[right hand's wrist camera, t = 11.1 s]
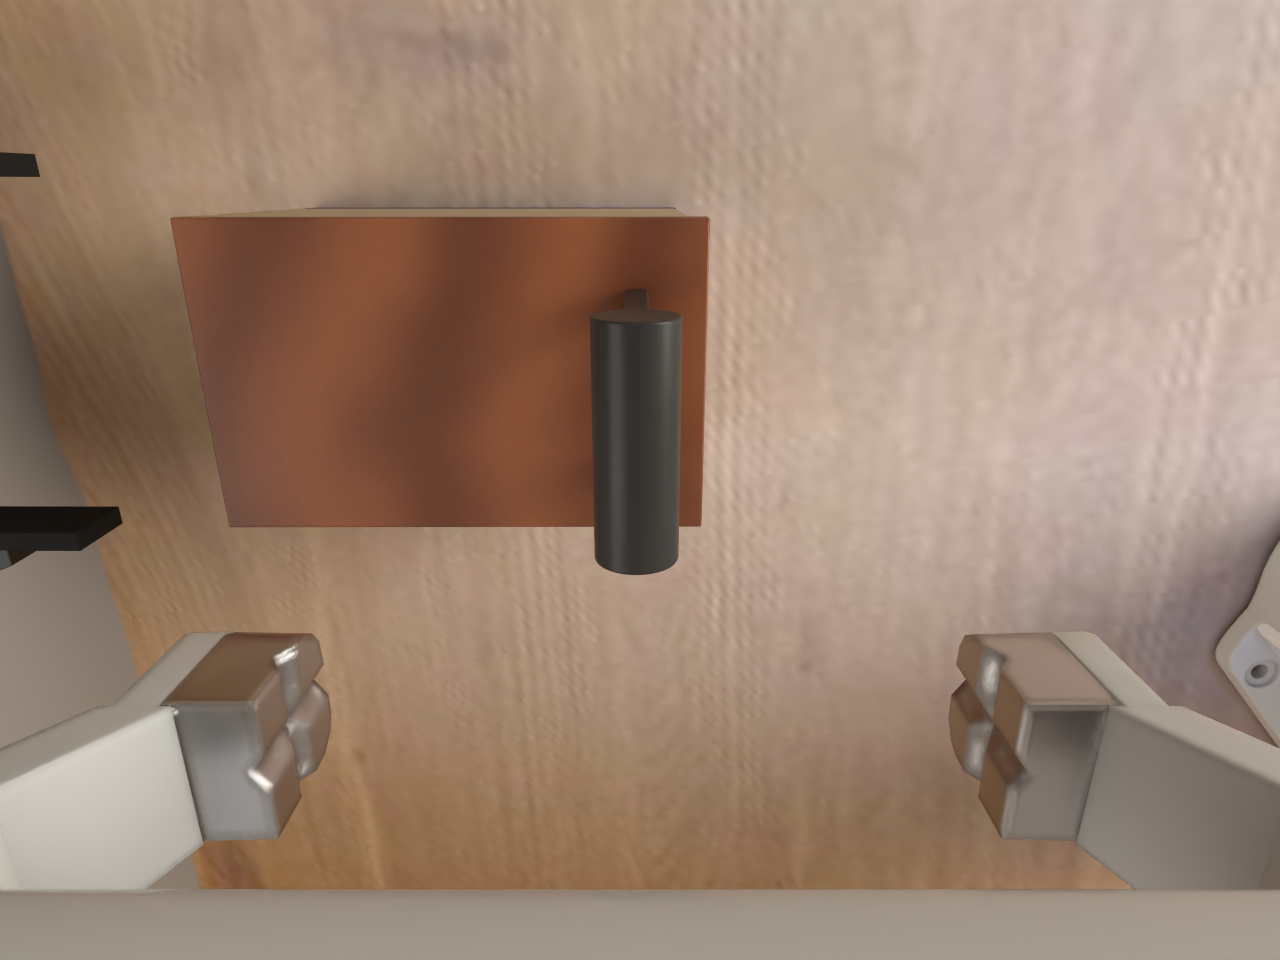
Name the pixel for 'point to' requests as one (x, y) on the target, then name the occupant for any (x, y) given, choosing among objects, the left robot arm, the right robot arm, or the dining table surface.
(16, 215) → the dining table surface
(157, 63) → the dining table surface
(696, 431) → the lid
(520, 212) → the chest
